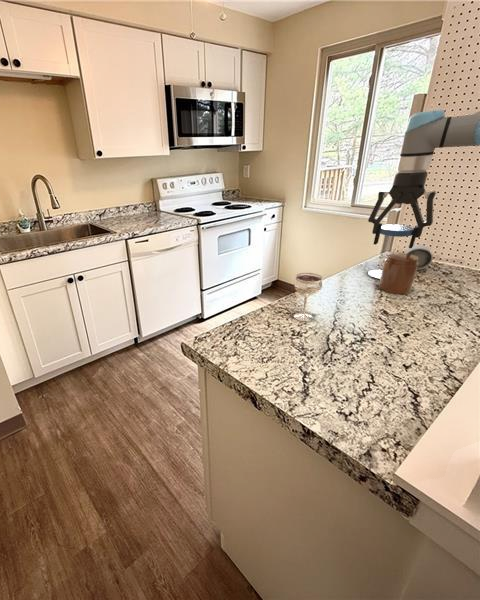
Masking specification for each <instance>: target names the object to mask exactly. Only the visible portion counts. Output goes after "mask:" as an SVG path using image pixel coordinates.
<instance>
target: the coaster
mask: <svg viewBox="0 0 480 600" xmlns="http://www.w3.org/2000/svg"><path fill="white" fill-rule="evenodd" d="M382 270H383V269H372V270H369V271H367V272H368V273H367V276H369V277H370V278H372V279H374V280H378V281H380V278H381V274H382Z"/></svg>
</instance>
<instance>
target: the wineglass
mask: <svg viewBox="0 0 480 600" xmlns="http://www.w3.org/2000/svg"><path fill="white" fill-rule="evenodd" d="M294 278H295V280H294V282H293V287H294V290H295V291H296V292H297V293H298V294H299V295H301V296H303V298H304V299H303V301H304V302H303V308H302V309H303V310H302V312H295V313H294V314H293V318H294V319H295V320H297V321H300V322H311V321H312V320H313V319H314V316H313V315H311V314H310V313H306V309H307V303H308V298H309V297H311V296H315V295H317V294H318V293H320V291H321V290H322V289H323V280H324V276H323V275H321V274H319V273H314V272H300V273H297V274H295V275H294Z"/></svg>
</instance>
